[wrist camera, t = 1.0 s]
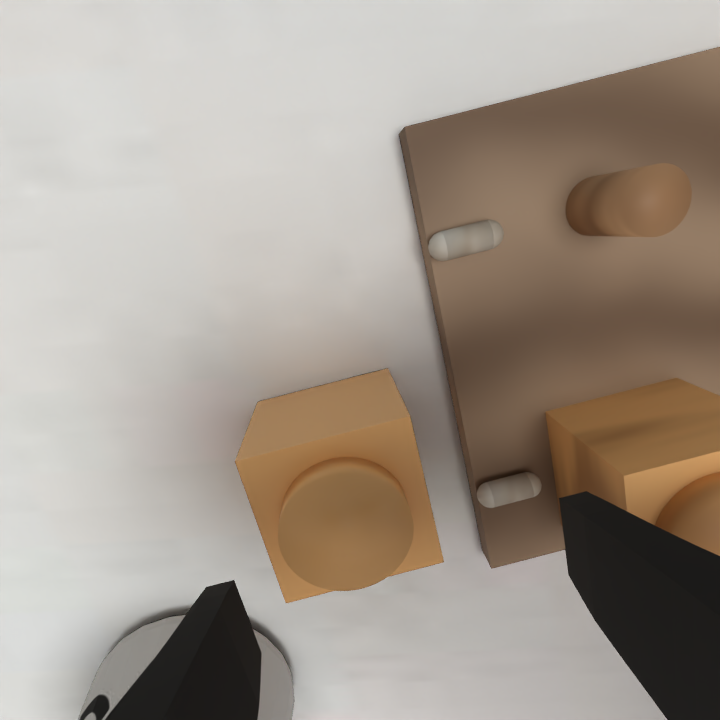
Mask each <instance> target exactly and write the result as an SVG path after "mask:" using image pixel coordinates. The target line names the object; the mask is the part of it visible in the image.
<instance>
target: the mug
mask: <svg viewBox="0 0 720 720" xmlns="http://www.w3.org/2000/svg"><path fill="white" fill-rule="evenodd" d="M185 616H186V615H181V616H172V617H168V618H165V619H162V620H159V621H156V622H153V623H150V624H147V625H144V626H142V627H141V628H139V629H137V630H136V631H134V632H133V633H131V634H129V635H128V636H126V637H125V638H123V639H122V640H121V641H120V642H119V643H118V644H117V645H116V646H115V648H114V649H113V650H112V651H111V652H110V653H109V654H108V655H107V657H106V658H105V659H104V661H103V662H102V663H101V665H100V667H99V669H98V672H97V674H96V676H95V678H94V681H93V683H92V685H91V688H90V690H89V692H88V695H87V697H86V700H85V702H84V705H83V707H82V710H81V713H80V715H79V718H78V720H107V719H108V718H109V717H110V716H111V714H112V713H113V712H114V710H115V709H116V708H117V707H118V705H119V704H120V703H121V702H122V700H123V699H124V698H125V697H126V695H127V694H128V693H129V691H130V690H131V689H132V688H133V686H134V685H135V684H136V683H137V681H138V680H139V679H140V677H141V676H142V675H143V673H144V672H145V671H146V669H147V668H148V667H149V665H150V664H151V662H152V661H153V660H154V658H155V657H156V656H157V654H158V653H159V652H160V650H161V649H162V647H163V646H164V645H165V643H166V642H167V641H168V639H169V638H170V637H171V635H172V634H173V632H174V631H175V630H176V628H177V627H178V625H179V624H180V623H181V621H182V620H183V618H184V617H185ZM253 631H254V634H255V637H256V639H257V642H258V645H259V647H260V650H261V652H262V657H261V684H260V702H259V712H258V719H257V720H292V714H293V707H294V691H293V684H292V676H291V671H290V669H289V667H288V665H287V663H286V661H285V659H284V657H283V655H282V653H281V652H280V651H279V650H278V649H277V648H276V647H275V646H274V645H273V644H272V643H271V642H270V641H269V640H268V639H267V638H266V637H265V636H263V635H262V634H260V633H259V632H257V631H255V630H254V629H253Z"/></svg>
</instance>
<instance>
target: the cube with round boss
mask: <svg viewBox="0 0 720 720" xmlns="http://www.w3.org/2000/svg"><path fill="white" fill-rule="evenodd" d="M235 463H236V466H237V469H238V471H239V474H240V477H241V480H242V483H243V485H244V488H245V491H246V494H247V496H248V499H249V502H250V505H251V508H252V510H253V513H254V516H255V519H256V521H257V524H258V527H259V530H260V533H261V535H262V538H263V541H264V544H265V546H266V549H267V552H268V555H269V558H270V560H271V563H272V566H273V569H274V571H275V574H276V577H277V580H278V583H279V585H280V588H281V591H282V594H283V596H284V599H285V602H286V603H289V602H293V601H297V600H301V599H305V598H308V597H312V596H316V595H320V594H324V593H328V592H331V591H350V590H357V589H362V588H365V587H368V586H371V585H373V584H376V583H378V582H380V581H381V580H383V579H385V578H386V577H389V576H393V575H396V574H400V573H404V572H408V571H412V570H416V569H419V568H423V567H427V566H431V565H435V564H439V563H442V562H444V560H443V556H442V552H441V547H440V543H439V539H438V534H437V530H436V526H435V521H434V517H433V513H432V508H431V504H430V500H429V495H428V491H427V487H426V482H425V478H424V474H423V470H422V465H421V461H420V457H419V452H418V448H417V444H416V439H415V435H414V431H413V426H412V422H411V418H410V415H409V413H408V410H407V408H406V406H405V404H404V402H403V400H402V398H401V395H400V393H399V391H398V389H397V387H396V385H395V383H394V381H393V378H392V376H391V374H390V372H389V370H388V368H387V369H383V370H379V371H375V372H371V373H367V374H363V375H360V376H356V377H352V378H348V379H344V380H340V381H336V382H332V383H329V384H325V385H321V386H317V387H313V388H309V389H305V390H301V391H298V392H294V393H290V394H286V395H282V396H278V397H274V398H270V399H266V400H263V401H259V402H257V405H256V407H255V410H254V413H253V415H252V418H251V420H250V423H249V426H248V428H247V431H246V434H245V436H244V439H243V441H242V444H241V447H240V449H239V452H238V455H237V457H236V460H235Z"/></svg>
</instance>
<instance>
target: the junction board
mask: <svg viewBox="0 0 720 720" xmlns="http://www.w3.org/2000/svg"><path fill="white" fill-rule="evenodd" d="M399 137H400V142H401V147H402V152H403V157H404V162H405V167H406V172H407V177H408V182H409V187H410V192H411V197H412V202H413V207H414V212H415V217H416V222H417V227H418V232H419V237H420V242H421V247H422V252H423V257H424V262H425V267H426V272H427V277H428V282H429V287H430V292H431V297H432V301H433V306H434V311H435V316H436V321H437V326H438V331H439V336H440V341H441V346H442V351H443V356H444V361H445V366H446V371H447V376H448V381H449V386H450V391H451V396H452V401H453V406H454V411H455V416H456V421H457V426H458V431H459V436H460V441H461V446H462V451H463V456H464V461H465V466H466V471H467V476H468V481H469V486H470V491H471V496H472V501H473V506H474V511H475V516H476V521H477V526H478V531H479V536H480V541H481V545H482V550H483V552H484V554H485V556H486V558H487V560H488V562H489V565H490V567H491V569H492V568H496V567H500V566H504V565H507V564H511V563H515V562H519V561H523V560H527V559H530V558H534V557H538V556H542V555H546V554H550V553H553V552H557V551H561V550H565V542H564V534H563V526H562V518H561V511H560V503H559V498H561V497H565V496H569V495H573V494H577V493H581V492H585V491H587V492H589V493H591V494H593V495H595V496H598V497H600V498H602V499H604V500H606V501H608V502H610V503H612V504H613V505H615V506H617V507H619V508H621V509H623V510H625V511H627V512H629V513H631V514H633V515H635V516H637V517H639V518H641V519H643V520H645V521H647V522H649V523H651V524H653V525H655V526H657V527H659V528H661V529H663V530H665V531H667V532H669V533H671V534H673V535H675V536H678V537H680V538H682V539H684V540H686V541H688V542H690V543H692V544H694V545H697V546H699V547H701V548H703V549H705V550H708V551H710V552H712V553H714V554H716V555H719V556H720V47H717V48H713V49H709V50H706V51H702V52H698V53H694V54H690V55H686V56H682V57H678V58H674V59H670V60H666V61H662V62H658V63H654V64H650V65H647V66H643V67H639V68H635V69H631V70H627V71H623V72H619V73H615V74H611V75H607V76H603V77H599V78H595V79H591V80H588V81H584V82H580V83H576V84H572V85H568V86H564V87H560V88H556V89H552V90H548V91H544V92H540V93H536V94H532V95H528V96H525V97H521V98H517V99H513V100H509V101H505V102H501V103H497V104H493V105H489V106H485V107H481V108H477V109H473V110H469V111H466V112H462V113H458V114H454V115H450V116H446V117H442V118H438V119H434V120H430V121H426V122H422V123H418V124H414V125H410V126H406V127H404V128H403V130H402V131H401V132H400V133H399Z"/></svg>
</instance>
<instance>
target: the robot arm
mask: <svg viewBox="0 0 720 720" xmlns="http://www.w3.org/2000/svg"><path fill="white" fill-rule="evenodd" d="M559 503H560V511H561V518H562V526H563V534H564V542H565V550H566V558H567V566H568V574H569V576H570V578H571V580H572V582H573V583H574V585H575V587H576V589H577V590H578V592H579V594H580V596H581V597H582V599H583V601H584V603H585V604H586V606H587V608H588V609H589V611H590V613H591V614H592V616H593V618H594V620H595V621H596V623H597V624H598V625H599V627H600V628H601V630H602V631H603V632H604V634H605V635H606V636H607V638H608V639H609V641H610V642H611V643H612V645H613V646H614V647H615V649H616V650H617V652H618V653H619V654H620V656H621V657H622V658H623V660H624V661H625V663H626V664H627V665H628V667H629V668H630V669H631V671H632V672H633V673H634V675H635V676H636V677H637V679H638V680H639V682H640V683H641V684H642V686H643V687H644V688H645V690H646V691H647V692H648V694H649V695H650V696H651V698H652V699H653V701H654V702H655V703H656V705H657V706H658V707H659V709H660V710H661V711H662V713H663V714H664V715H665V717H666V718H667V720H720V556H719V555H716V554H714V553H712V552H710V551H708V550H705V549H703V548H701V547H699V546H697V545H694V544H692V543H690V542H688V541H686V540H684V539H682V538H680V537H678V536H675V535H673V534H671V533H669V532H667V531H665V530H663V529H661V528H659V527H657V526H655V525H653V524H651V523H649V522H647V521H645V520H643V519H641V518H639V517H637V516H635V515H633V514H631V513H629V512H627V511H625V510H623V509H621V508H619V507H617V506H615V505H613V504H612V503H610V502H608V501H606V500H604V499H602V498H600V497H598V496H595V495H593V494H591V493H589V492H587V491H585V492H581V493H577V494H573V495H569V496H565V497H561V498H559ZM261 657H262V652H261V650H260V647H259V645H258V642H257V639H256V637H255V634H254V631H253V629H252V626H251V623H250V621H249V618H248V616H247V613H246V610H245V608H244V605H243V602H242V600H241V597H240V595H239V592H238V589H237V587H236V584H235V581H234V580H233V581H229V582H225V583H221V584H217V585H213V586H209V587H206V588H205V590H204V591H203V592H202V594H201V595H200V596H199V598H198V599H197V600H196V602H195V603H194V604H193V606H192V607H191V609H190V610H189V611H188V613H187V614H186V616H185V617H184V618H183V620H182V621H181V623H180V624H179V625H178V627H177V628H176V630H175V631H174V632H173V634H172V635H171V637H170V638H169V639H168V641H167V642H166V643H165V645H164V646H163V647H162V649H161V650H160V652H159V653H158V654H157V656H156V657H155V658H154V660H153V661H152V662H151V664H150V665H149V667H148V668H147V669H146V671H145V672H144V673H143V675H142V676H141V677H140V679H139V680H138V681H137V683H136V684H135V685H134V686H133V688H132V689H131V690H130V691H129V693H128V694H127V695H126V697H125V698H124V699H123V700H122V702H121V703H120V704H119V705H118V707H117V708H116V709H115V710H114V712H113V713H112V714H111V716H110V717H109V718H108V719H107V720H257V719H258V712H259V702H260V684H261Z"/></svg>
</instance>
